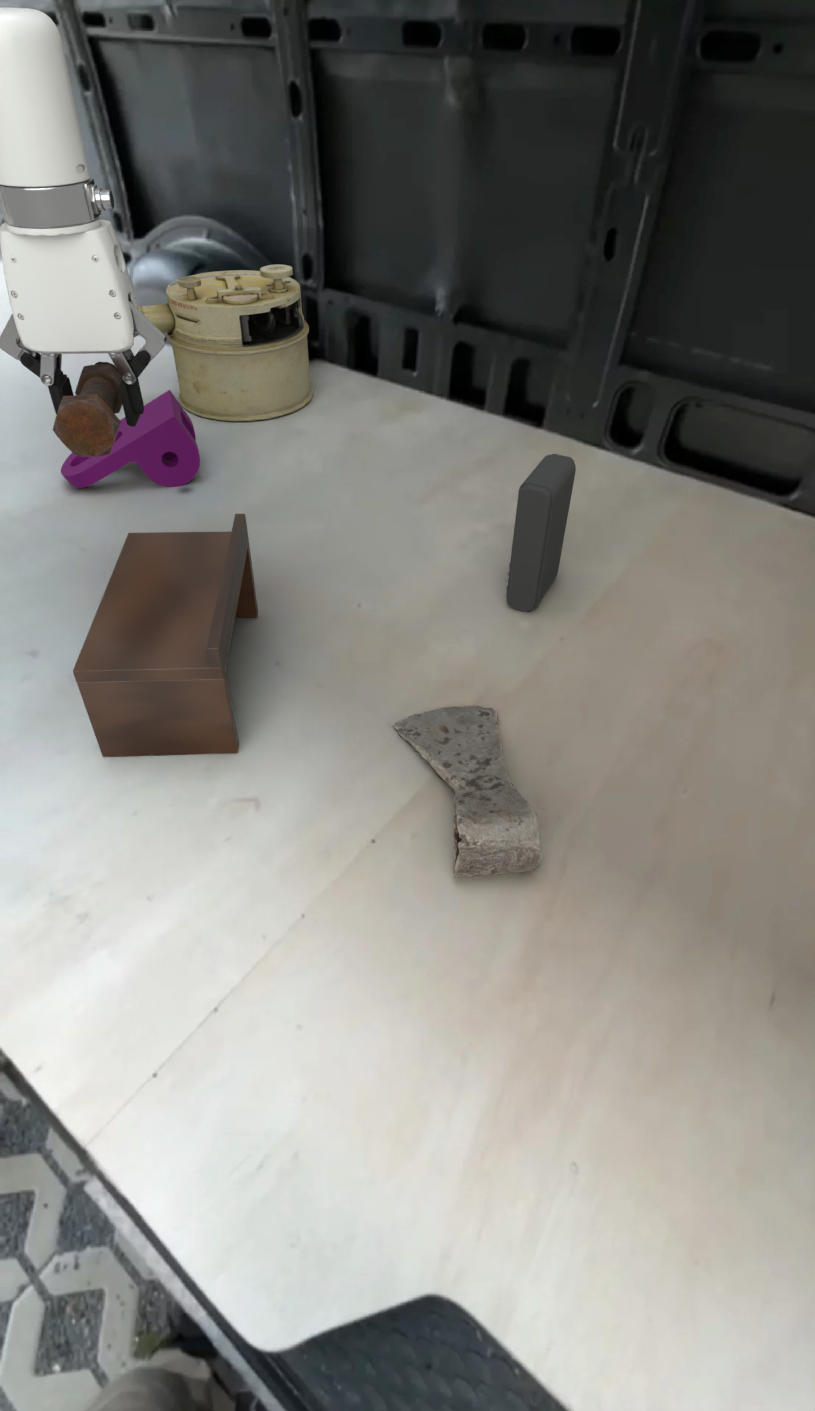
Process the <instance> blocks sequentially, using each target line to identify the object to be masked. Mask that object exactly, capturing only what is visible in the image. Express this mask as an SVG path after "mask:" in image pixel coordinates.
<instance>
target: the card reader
mask: <svg viewBox="0 0 815 1411" xmlns="http://www.w3.org/2000/svg"><path fill="white" fill-rule="evenodd" d="M576 471H577V467H576V463H575V460H574V459H573V458H572V457H570V456H566V455H563V454H559V453H551V454H547V455H545V456H544V457H543V458H542V459H541V461H540V462H539V463H538V464H537V465H536V467H535V468H534V469H533V470H532V471H531V473H530V474H529V475H528V476H527V477H526V478H525V480H523V482H522V484H520V486H519V488H518V495H517V500H516V502H517V503H516V509H515V517H514V518H515V520H514V525H513V526H514V527H513V537H512V544H511V553H510V560H509V563H508V571H507V575H508V577H507V579H506V582H507V585H506V588H505V589H506V596H505V597H506V599H505V600H506V603H507V605H508V606H509V607H510V608H513V609H517V610H518V611H519V610H520V611H523V612H530V611H532V610H536V609H537V607H538V606H539V604H541V602H542V600H543V598H544V597H545V595H546V594H547V592H548V591H549V589H550V588H551V586H552V585H553V583H554V581H555V580H556V578H557V576H558V574H559V570H560V569H559V568H560V565H561V564H560V562H561V559H562V558H561V556H562V551H563V546H564V541H565V540H564V539H565V534H566V528H567V522H568V517H569V513H570V512H569V511H570V506H571V500H572V494H573V489H574V482H575V477H576Z"/></svg>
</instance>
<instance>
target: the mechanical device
mask: <svg viewBox="0 0 815 1411" xmlns="http://www.w3.org/2000/svg"><path fill="white" fill-rule="evenodd" d="M293 270H294V269H293V266H291V265H287V264H281V263H280V264H279V263H277V264H268V265H265V266H261V267H260V268H259V270H253V269H252V270H249V269H237V270H236V269H234V270H233V269H232V270H217V271H208V272H207V271H206V272H200V273H196V274H192V275H188V276H182V277H180V278H178V279H176V280H174V281H173V282H171V283H170V284H168V285H167V287H166V289H165V295H166V302H167V303H160V304H159V303H157V304H147V305H140V304H137V307H138V309H139V310H140V311H141V312H142V313H143V314H144V315H145V316H146V317H147V318H148V319H149V320H150V321H151V322H152V323H153V324H154V325H155V326H156V327H157V328H158V329H159V330H160V331H161V332H162V333H163V334H165V333H166V334H167V339H168V340H169V341H170V342H171V343H170V344H171V348H172V353H173V359H174V365H175V369H176V371H175V372H176V377H177V382H178V388H179V394H178V400H179V404H180V405H181V406H182V408H183V409H184V410H185V411H188V412H189V413H191V414H193V415H196V416H199V417H202V418H206V419H210V420H217V421H227V422H255V421H262V420H270V419H274V418H279V417H282V416H285V415H288V414H291V413H295V412H297V411H298V410H301V409H303V407H305V406H306V405H307V404H308V403H309V402H310V401H311V399H312V398H313V395H314V390H313V387H312V385H311V377H310V376H311V375H310V374H311V373H310V362H309V361H310V360H309V347H308V346H309V345H308V334H309V331H310V326H309V324H308V323H307V321H306V320H305V315H304V314H303V306H302V294H301V285H300V283H299V282H298V281H297V280H296V279H294V278H292V277H291V276H294V271H293Z"/></svg>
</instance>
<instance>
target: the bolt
mask: <svg viewBox="0 0 815 1411" xmlns="http://www.w3.org/2000/svg"><path fill="white" fill-rule="evenodd" d="M120 377H121V376H120V374H119V372H118V370H117V369H116V367H115V365H114V363H111V362H108V361H97V362H95V363H94V364H90V365H89V364H88V365H83V367H82V370H81V372H80V375H79V378H78V382H77V385H76V388H75V391H74V394H75V395H73V396H63V398H62V400H61V403H60V406H59V409H58V412H57V415H56V416H55V419H54V422H53V426H52V431H53V432H54V434H55V435H56V437H57V438H58V439H59V441H60V442H61V443H62V444H63V445H64V446H65V447H66V448H67V449H68V450H69V451H70V452H71V453H72V452H73V453H74V454H75V455H77V456H82V457H95V456H103V455H107V454H110V452H111V450H112V447H113V444H114V441H115V438H116V435H117V432H118V429H119V426H120V423H121V421H120V420H121V419H119V417H118V416H117V415H116V414H120V413H121V410H122V407H123V404H122V400H121V396H120V391H119V385H120V383H121V378H120Z"/></svg>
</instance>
